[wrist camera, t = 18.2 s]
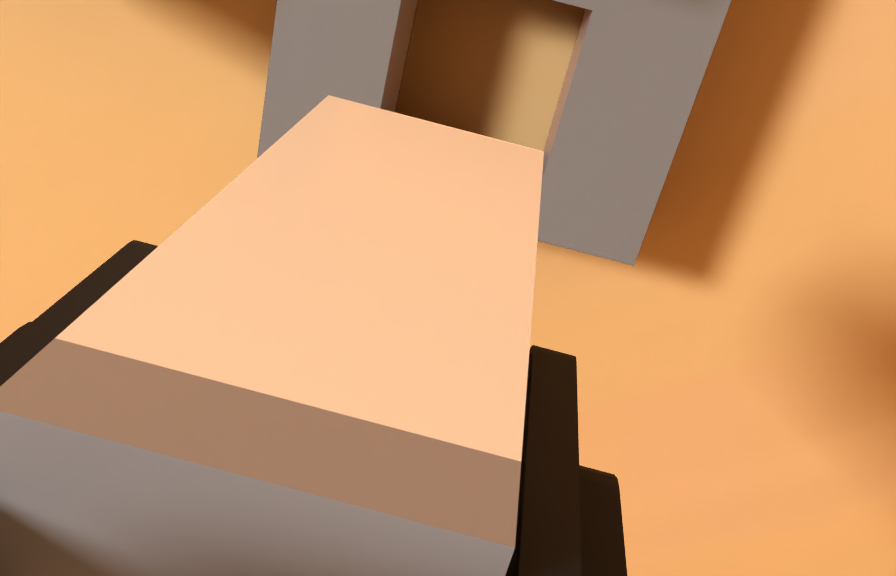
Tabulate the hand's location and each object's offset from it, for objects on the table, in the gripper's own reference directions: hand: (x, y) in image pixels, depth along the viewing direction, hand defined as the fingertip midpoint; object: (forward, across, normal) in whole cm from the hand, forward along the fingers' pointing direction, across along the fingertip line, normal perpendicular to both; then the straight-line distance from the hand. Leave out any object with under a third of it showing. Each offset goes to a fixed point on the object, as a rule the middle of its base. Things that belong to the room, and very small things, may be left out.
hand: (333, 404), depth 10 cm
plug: (+6, 0, 0) cm, 6 cm away
